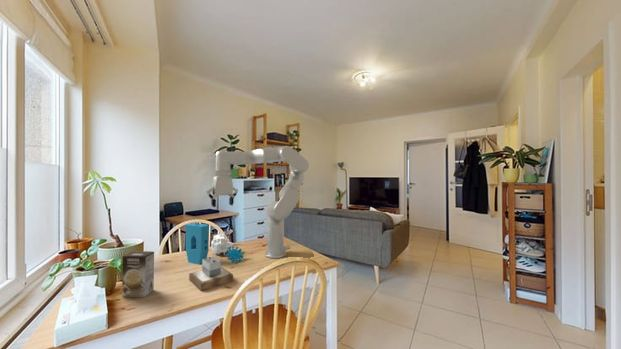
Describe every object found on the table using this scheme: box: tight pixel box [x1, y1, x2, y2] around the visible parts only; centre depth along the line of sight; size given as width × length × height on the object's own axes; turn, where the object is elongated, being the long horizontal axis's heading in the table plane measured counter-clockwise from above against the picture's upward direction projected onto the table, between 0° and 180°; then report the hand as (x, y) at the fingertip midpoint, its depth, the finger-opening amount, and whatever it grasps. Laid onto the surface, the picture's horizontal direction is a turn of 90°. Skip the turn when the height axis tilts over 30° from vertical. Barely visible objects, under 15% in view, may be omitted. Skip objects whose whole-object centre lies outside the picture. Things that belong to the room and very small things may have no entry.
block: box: [185, 222, 210, 265], centre depth 137 cm, size 12×5×20 cm, turn 69°
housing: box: [201, 256, 222, 278], centre depth 114 cm, size 5×8×6 cm, turn 44°
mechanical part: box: [211, 233, 234, 256], centre depth 151 cm, size 11×12×12 cm
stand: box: [188, 266, 234, 292], centre depth 114 cm, size 14×14×3 cm
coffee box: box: [121, 250, 155, 298], centre depth 102 cm, size 9×6×16 cm
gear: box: [225, 245, 246, 264], centre depth 140 cm, size 11×6×10 cm
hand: (222, 205), depth 137 cm, fingers open, 9 cm apart
